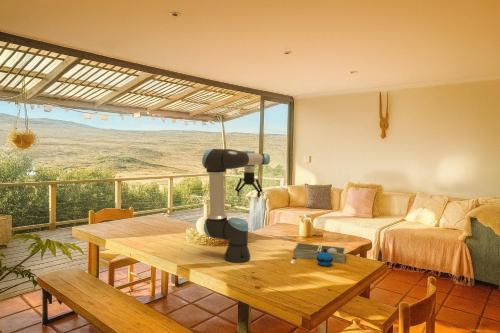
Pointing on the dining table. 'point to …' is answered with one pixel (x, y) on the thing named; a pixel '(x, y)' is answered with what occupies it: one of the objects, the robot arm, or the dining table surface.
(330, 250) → the ball
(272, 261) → the dining table surface
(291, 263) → the card
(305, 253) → the two-compartment wooden tray
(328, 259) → the ornament
